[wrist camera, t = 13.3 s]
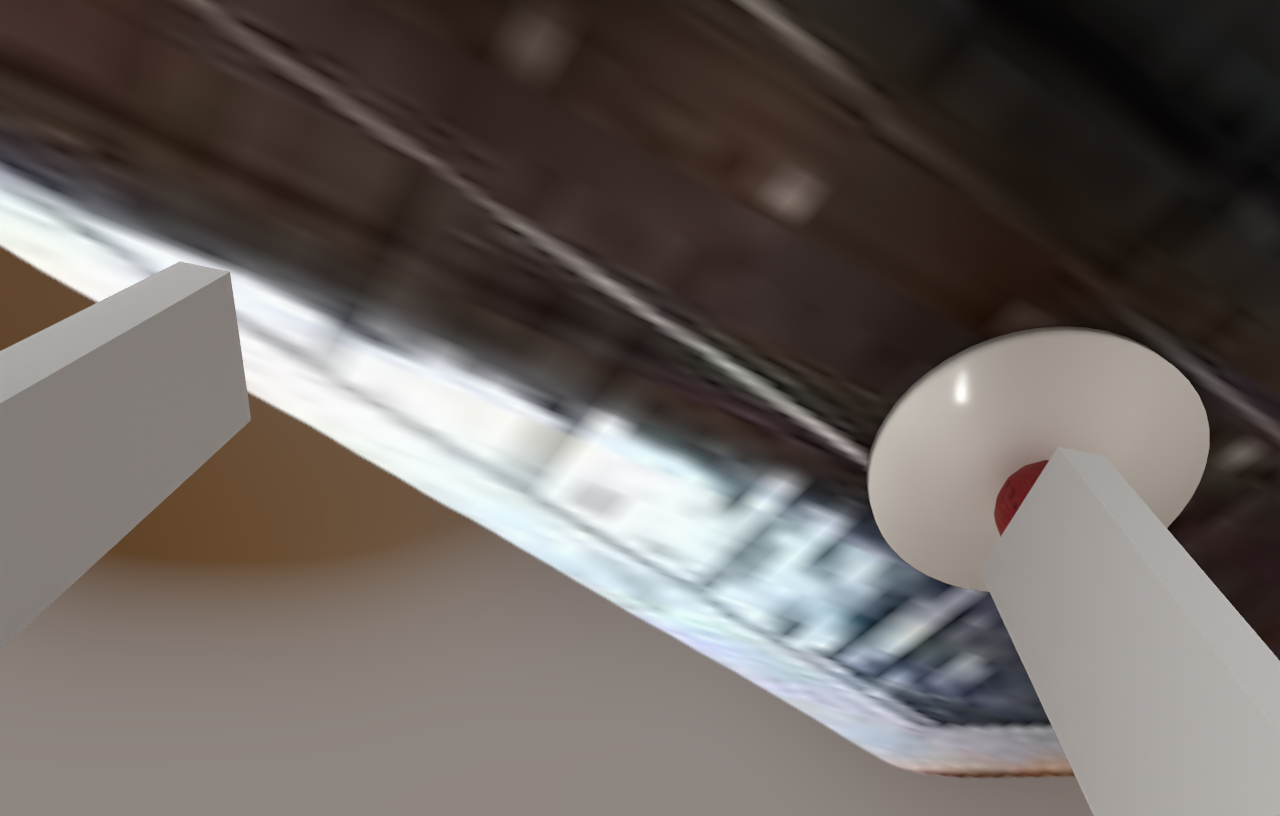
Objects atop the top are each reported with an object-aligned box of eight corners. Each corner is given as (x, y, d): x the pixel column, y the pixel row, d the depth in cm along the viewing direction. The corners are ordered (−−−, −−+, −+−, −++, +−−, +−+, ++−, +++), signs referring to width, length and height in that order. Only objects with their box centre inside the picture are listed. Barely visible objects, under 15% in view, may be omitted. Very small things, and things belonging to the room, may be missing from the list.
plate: (942, 291, 35) (949, 300, 34) (1270, 370, 36) (1287, 380, 35) (824, 544, 45) (827, 556, 44) (1086, 604, 45) (1095, 618, 44)
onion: (964, 453, 39) (1017, 547, 32) (1073, 419, 37) (1154, 510, 30) (988, 527, 41) (1042, 629, 34) (1091, 498, 39) (1170, 600, 32)
